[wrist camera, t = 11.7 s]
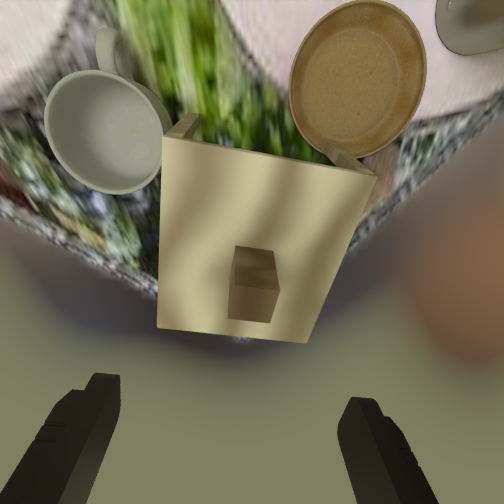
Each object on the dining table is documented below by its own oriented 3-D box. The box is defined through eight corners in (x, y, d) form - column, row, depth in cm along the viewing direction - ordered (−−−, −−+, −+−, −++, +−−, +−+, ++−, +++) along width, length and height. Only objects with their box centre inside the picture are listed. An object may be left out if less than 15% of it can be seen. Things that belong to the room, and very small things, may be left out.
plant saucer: (348, -31, 29) (358, -44, 27) (440, 72, 33) (455, 70, 31) (258, 104, 34) (260, 103, 31) (349, 179, 38) (357, 184, 36)
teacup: (167, 191, 37) (151, 210, 30) (76, 160, 35) (35, 172, 28) (198, 70, 32) (187, 58, 24) (93, 25, 29) (48, -3, 22)
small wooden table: (334, 141, 33) (413, 206, 18) (290, 276, 43) (317, 389, 28) (188, 111, 31) (140, 157, 16) (178, 260, 41) (142, 374, 26)
